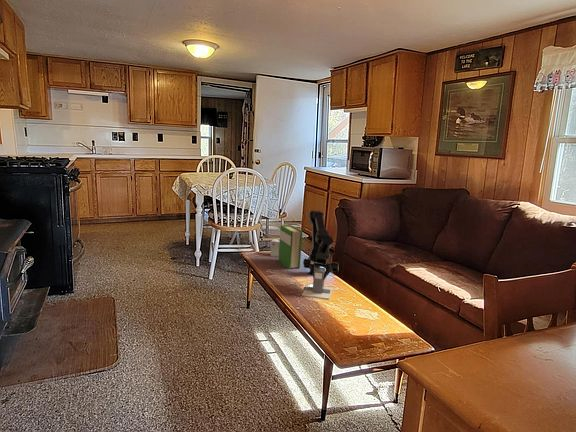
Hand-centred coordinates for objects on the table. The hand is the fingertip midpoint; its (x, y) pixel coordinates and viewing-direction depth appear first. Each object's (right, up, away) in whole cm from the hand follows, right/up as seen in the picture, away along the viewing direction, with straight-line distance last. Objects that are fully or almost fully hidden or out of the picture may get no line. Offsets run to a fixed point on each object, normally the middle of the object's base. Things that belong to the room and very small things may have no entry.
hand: (318, 279), depth 204 cm
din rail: (0, -7, +3) cm, 8 cm away
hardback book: (-15, +2, +47) cm, 49 cm away
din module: (0, -7, +3) cm, 7 cm away
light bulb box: (-23, +6, +66) cm, 70 cm away
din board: (0, -7, +3) cm, 8 cm away
